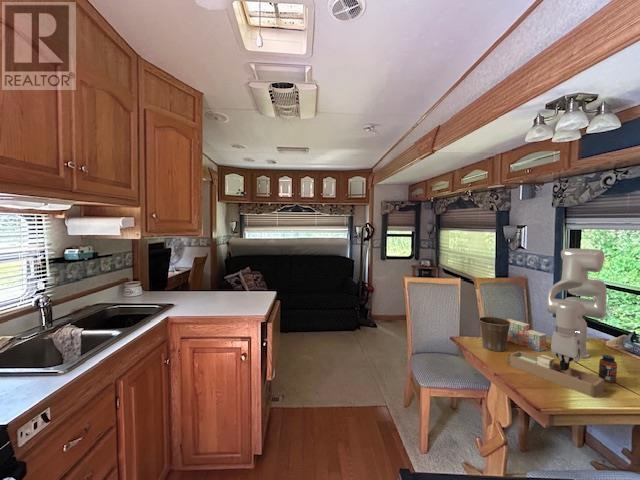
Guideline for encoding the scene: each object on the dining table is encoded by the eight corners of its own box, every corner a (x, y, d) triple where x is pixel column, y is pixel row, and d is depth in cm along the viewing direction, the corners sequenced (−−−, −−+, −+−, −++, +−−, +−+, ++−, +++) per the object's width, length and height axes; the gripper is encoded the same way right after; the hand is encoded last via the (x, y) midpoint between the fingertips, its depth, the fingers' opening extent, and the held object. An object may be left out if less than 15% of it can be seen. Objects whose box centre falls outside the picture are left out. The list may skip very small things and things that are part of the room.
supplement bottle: (612, 384, 136) (613, 360, 135) (595, 378, 141) (596, 354, 140) (619, 381, 138) (620, 357, 137) (602, 375, 143) (603, 352, 143)
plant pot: (472, 342, 184) (472, 316, 183) (496, 341, 186) (497, 315, 185) (490, 354, 168) (490, 325, 167) (516, 352, 170) (517, 324, 169)
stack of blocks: (546, 350, 173) (546, 329, 172) (539, 352, 170) (539, 330, 170) (509, 337, 192) (510, 318, 192) (503, 339, 190) (503, 319, 189)
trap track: (519, 359, 161) (519, 350, 160) (604, 390, 131) (604, 379, 131) (507, 364, 155) (508, 355, 155) (594, 397, 125) (594, 386, 125)
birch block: (542, 364, 149) (542, 354, 148) (554, 368, 144) (554, 358, 144) (537, 367, 146) (537, 357, 146) (549, 371, 142) (549, 361, 142)
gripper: (590, 334, 133) (588, 374, 134) (550, 324, 146) (549, 361, 147) (583, 337, 129) (581, 378, 130) (543, 327, 142) (541, 365, 143)
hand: (564, 369), depth 138 cm, fingers closed
